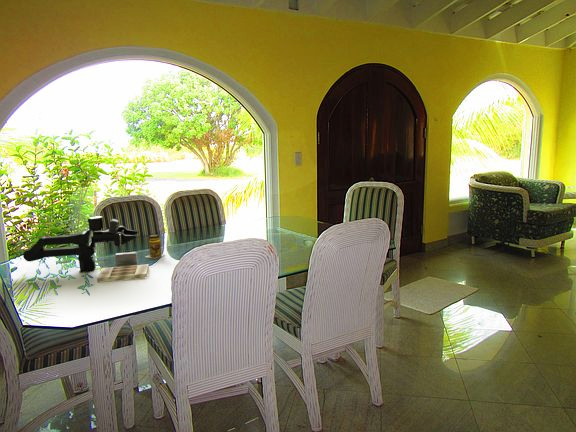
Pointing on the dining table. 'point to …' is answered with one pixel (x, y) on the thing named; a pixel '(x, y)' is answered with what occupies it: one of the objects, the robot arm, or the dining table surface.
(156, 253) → the condiment
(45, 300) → the dining table surface
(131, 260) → the panel
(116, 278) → the rack
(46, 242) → the robot arm
